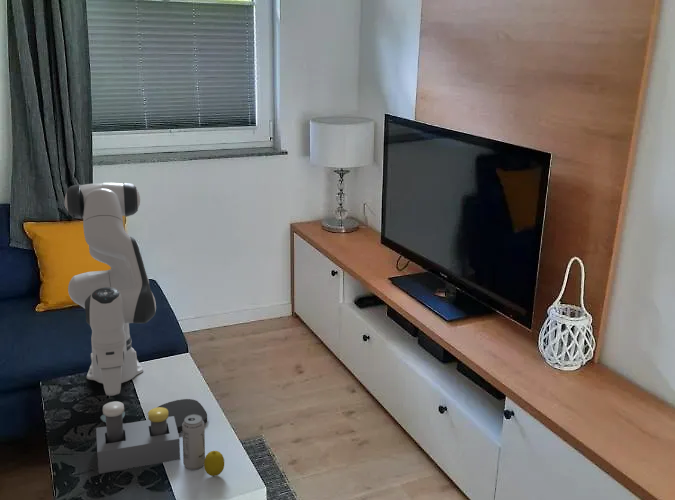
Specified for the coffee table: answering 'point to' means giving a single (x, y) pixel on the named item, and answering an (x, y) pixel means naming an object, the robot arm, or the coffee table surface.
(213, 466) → the lemon
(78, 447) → the coffee table surface
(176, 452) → the mount
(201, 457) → the energy drink can
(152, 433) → the knob mustard
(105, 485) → the coffee table surface
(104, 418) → the pacifier
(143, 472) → the coffee table surface
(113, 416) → the knob white
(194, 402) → the media streaming box
